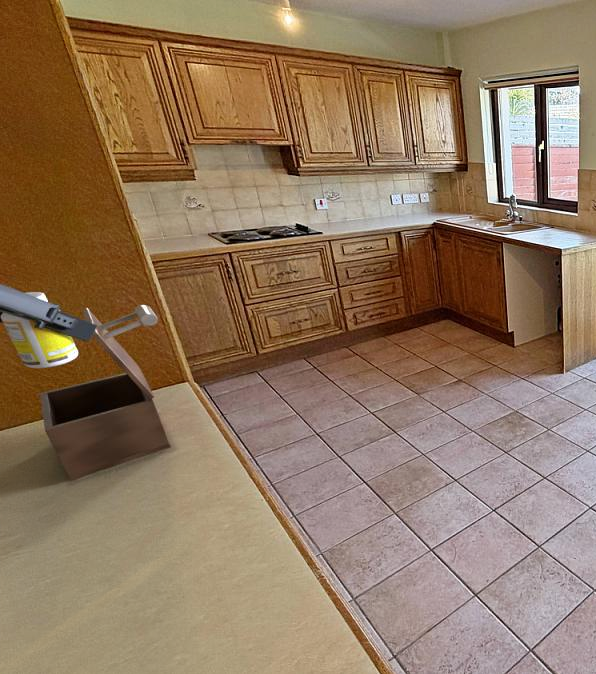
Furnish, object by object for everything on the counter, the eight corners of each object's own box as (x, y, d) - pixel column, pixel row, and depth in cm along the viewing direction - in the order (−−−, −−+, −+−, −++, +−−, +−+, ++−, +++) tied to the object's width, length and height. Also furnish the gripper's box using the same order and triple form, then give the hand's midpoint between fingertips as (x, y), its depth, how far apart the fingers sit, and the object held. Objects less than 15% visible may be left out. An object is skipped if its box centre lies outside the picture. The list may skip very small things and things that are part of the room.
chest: (70, 480, 76) (44, 430, 72) (62, 439, 86) (40, 393, 82) (171, 447, 85) (153, 400, 81) (154, 413, 94) (137, 369, 91)
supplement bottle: (86, 350, 74) (60, 288, 70) (70, 366, 69) (41, 300, 65) (36, 356, 71) (6, 292, 67) (16, 372, 67) (-18, 304, 63)
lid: (92, 336, 73) (152, 312, 78) (82, 309, 82) (136, 289, 87) (150, 399, 81) (202, 374, 85) (134, 369, 90) (182, 347, 95)
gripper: (-260, 273, 50) (3, 348, 72) (-103, 288, 49) (116, 360, 70) (-209, 215, 53) (30, 304, 74) (-59, 227, 52) (139, 314, 73)
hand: (71, 331), depth 72 cm, fingers closed on supplement bottle, 6 cm apart
